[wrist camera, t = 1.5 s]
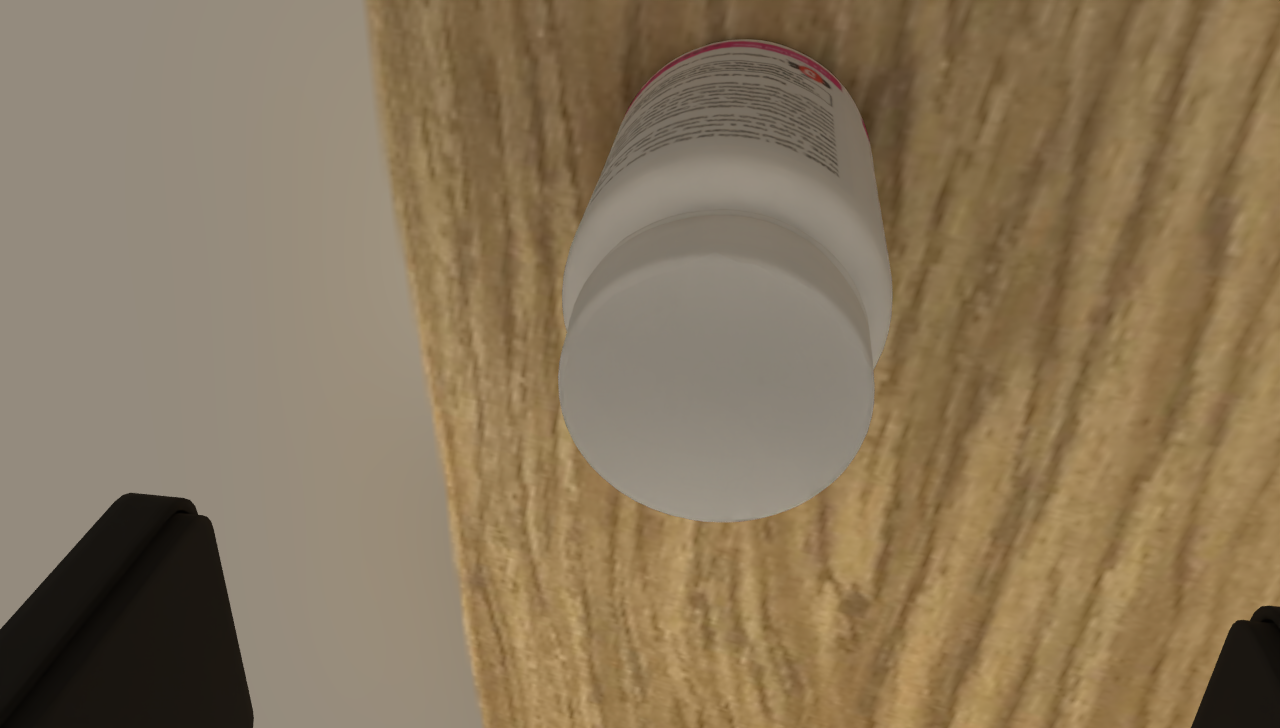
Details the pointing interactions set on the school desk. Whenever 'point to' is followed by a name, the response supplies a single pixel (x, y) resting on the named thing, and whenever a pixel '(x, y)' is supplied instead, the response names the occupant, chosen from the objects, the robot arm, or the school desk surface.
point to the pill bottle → (728, 288)
